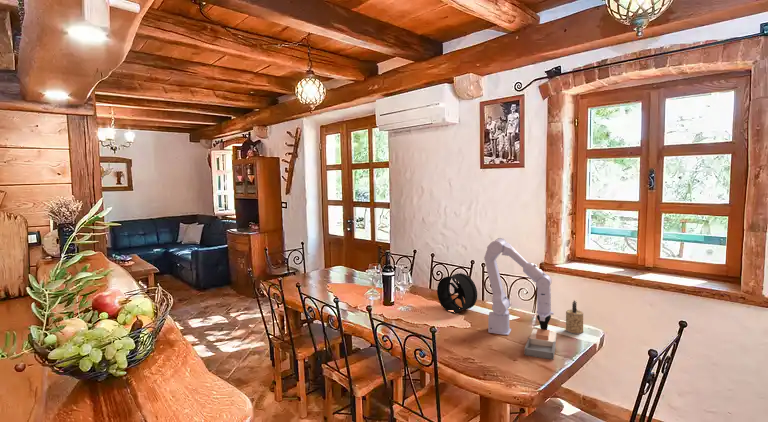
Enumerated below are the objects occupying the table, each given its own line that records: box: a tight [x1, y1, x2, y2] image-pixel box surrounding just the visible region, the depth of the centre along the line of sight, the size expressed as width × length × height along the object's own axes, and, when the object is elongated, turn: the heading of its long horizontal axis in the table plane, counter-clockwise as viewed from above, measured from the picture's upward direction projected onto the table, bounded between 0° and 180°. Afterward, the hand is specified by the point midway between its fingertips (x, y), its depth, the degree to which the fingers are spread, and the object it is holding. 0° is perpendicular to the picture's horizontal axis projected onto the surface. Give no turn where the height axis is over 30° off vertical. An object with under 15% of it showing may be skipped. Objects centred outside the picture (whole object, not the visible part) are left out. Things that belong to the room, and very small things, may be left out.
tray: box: [523, 337, 557, 361], centre depth 171 cm, size 11×12×3 cm
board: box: [529, 328, 558, 347], centre depth 182 cm, size 10×12×2 cm
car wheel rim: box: [436, 272, 478, 314], centre depth 225 cm, size 20×10×20 cm, turn 40°
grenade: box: [565, 299, 584, 335], centre depth 191 cm, size 8×7×15 cm
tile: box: [536, 328, 551, 340], centre depth 180 cm, size 5×7×2 cm
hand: (543, 331), depth 184 cm, fingers closed
